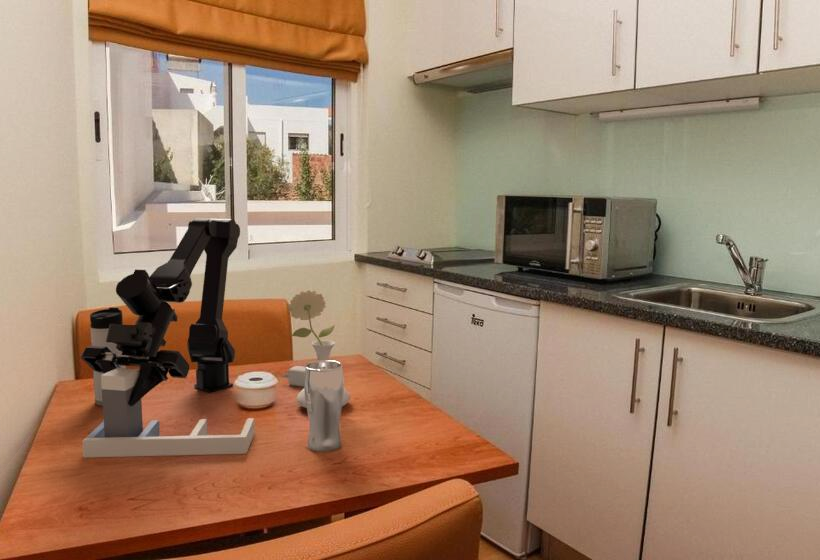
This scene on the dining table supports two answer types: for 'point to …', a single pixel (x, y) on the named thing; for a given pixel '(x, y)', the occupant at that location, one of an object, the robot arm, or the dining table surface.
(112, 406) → the grey tall block
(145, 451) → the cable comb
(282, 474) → the dining table surface
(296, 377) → the usb wall charger
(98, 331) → the travel mug
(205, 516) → the dining table surface
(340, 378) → the beer glass
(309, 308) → the flower in vase
